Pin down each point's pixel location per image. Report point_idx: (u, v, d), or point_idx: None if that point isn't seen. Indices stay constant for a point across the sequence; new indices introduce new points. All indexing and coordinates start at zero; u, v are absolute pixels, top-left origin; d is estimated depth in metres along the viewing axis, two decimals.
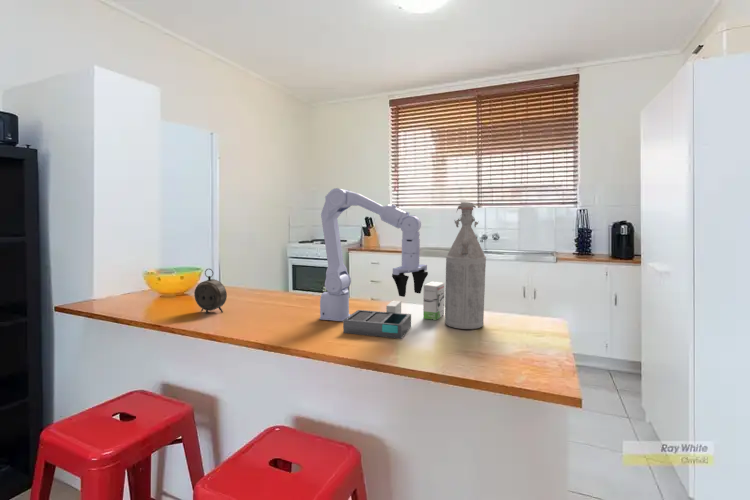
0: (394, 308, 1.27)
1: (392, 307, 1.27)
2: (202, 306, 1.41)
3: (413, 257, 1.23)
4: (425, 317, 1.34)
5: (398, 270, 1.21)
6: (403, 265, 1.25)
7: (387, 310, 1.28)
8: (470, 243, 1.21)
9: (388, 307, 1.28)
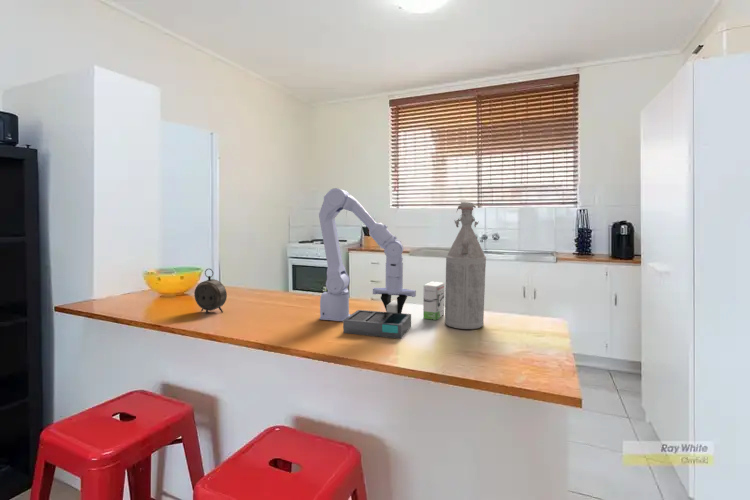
0: (394, 308, 1.27)
1: (392, 307, 1.27)
2: (202, 306, 1.41)
3: (388, 280, 1.29)
4: (425, 317, 1.34)
5: (374, 290, 1.32)
6: None
7: (387, 310, 1.28)
8: (470, 243, 1.21)
9: (388, 307, 1.28)
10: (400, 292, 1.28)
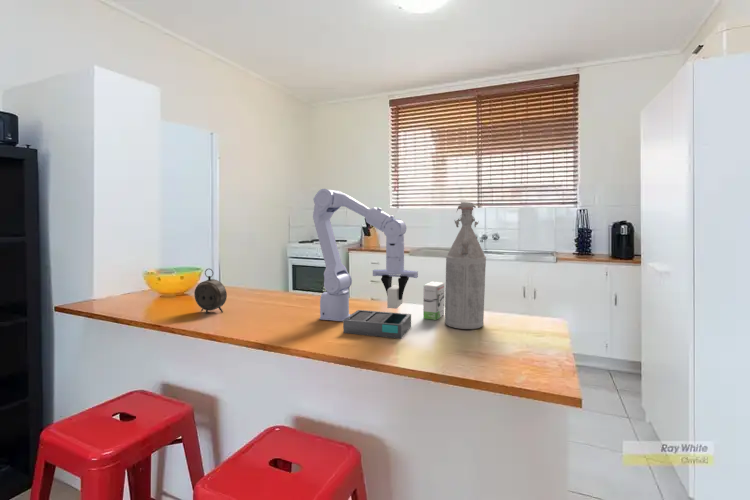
0: (395, 291, 1.22)
1: (393, 290, 1.22)
2: (202, 306, 1.41)
3: (388, 261, 1.23)
4: (425, 317, 1.34)
5: (374, 271, 1.27)
6: None
7: (388, 294, 1.23)
8: (470, 243, 1.21)
9: (389, 291, 1.23)
10: (401, 273, 1.23)
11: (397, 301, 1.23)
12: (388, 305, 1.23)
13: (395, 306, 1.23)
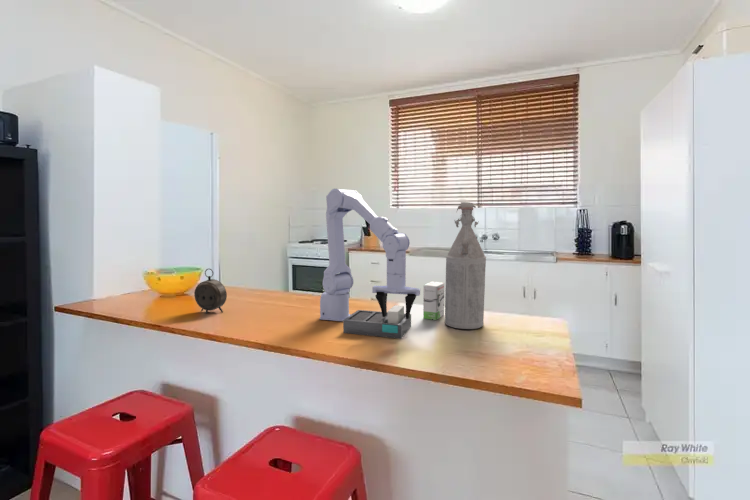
0: (396, 314, 1.15)
1: (394, 313, 1.15)
2: (202, 306, 1.41)
3: (389, 277, 1.16)
4: (425, 317, 1.34)
5: (374, 288, 1.20)
6: None
7: (388, 316, 1.16)
8: (470, 243, 1.21)
9: (390, 313, 1.16)
10: (403, 290, 1.16)
11: None
12: None
13: None
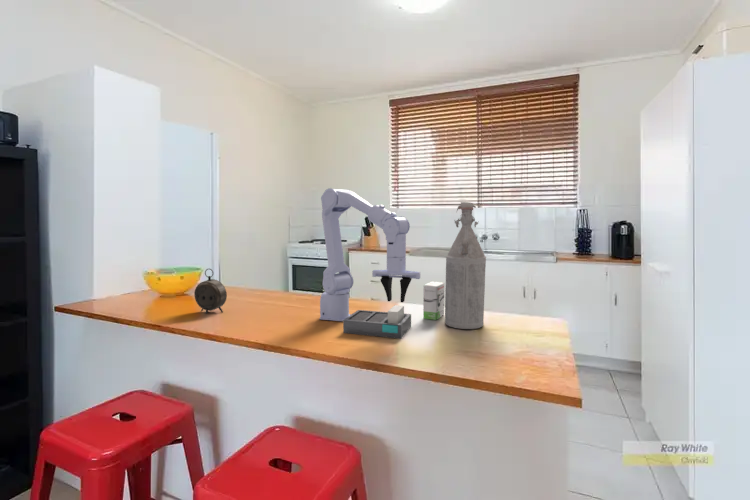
0: (396, 314, 1.15)
1: (394, 313, 1.15)
2: (202, 306, 1.41)
3: (389, 261, 1.16)
4: (425, 317, 1.34)
5: (374, 272, 1.19)
6: None
7: (388, 316, 1.16)
8: (470, 243, 1.21)
9: (390, 313, 1.16)
10: (403, 274, 1.15)
11: None
12: None
13: None
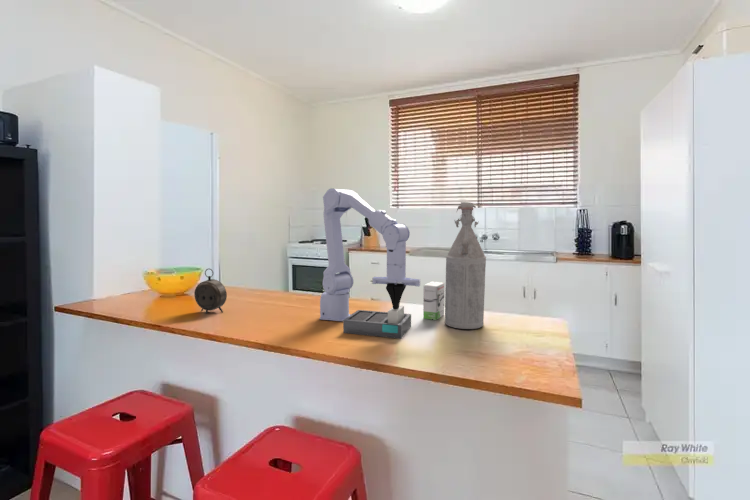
0: (396, 314, 1.15)
1: (394, 313, 1.15)
2: (202, 306, 1.41)
3: (389, 268, 1.16)
4: (425, 317, 1.34)
5: (374, 279, 1.19)
6: None
7: (388, 316, 1.16)
8: (470, 243, 1.21)
9: (390, 313, 1.16)
10: (403, 281, 1.15)
11: None
12: None
13: None
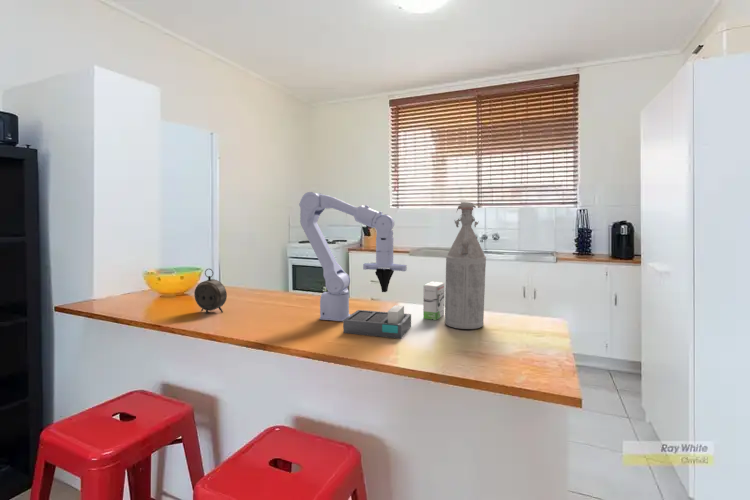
0: (396, 314, 1.15)
1: (394, 313, 1.15)
2: (202, 306, 1.41)
3: (378, 254, 1.28)
4: (425, 317, 1.34)
5: (364, 265, 1.31)
6: None
7: (388, 316, 1.16)
8: (470, 243, 1.21)
9: (390, 313, 1.16)
10: (390, 266, 1.27)
11: None
12: None
13: None
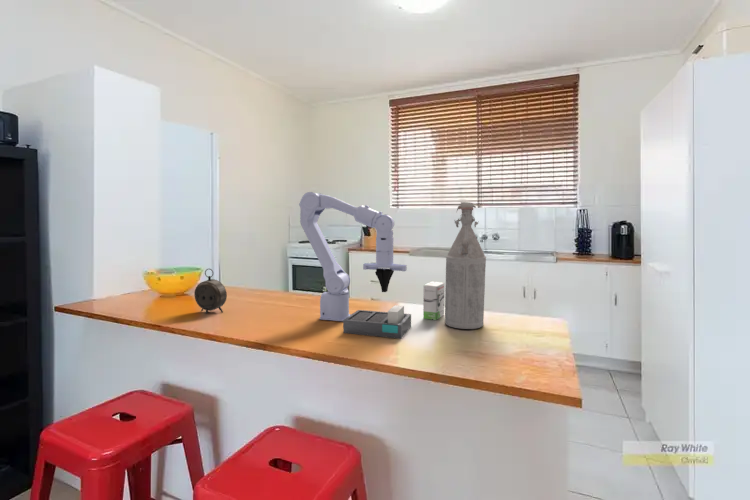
0: (396, 314, 1.15)
1: (394, 313, 1.15)
2: (202, 306, 1.41)
3: (378, 254, 1.28)
4: (425, 317, 1.34)
5: (364, 265, 1.31)
6: None
7: (388, 316, 1.16)
8: (470, 243, 1.21)
9: (390, 313, 1.16)
10: (390, 266, 1.27)
11: None
12: None
13: None
